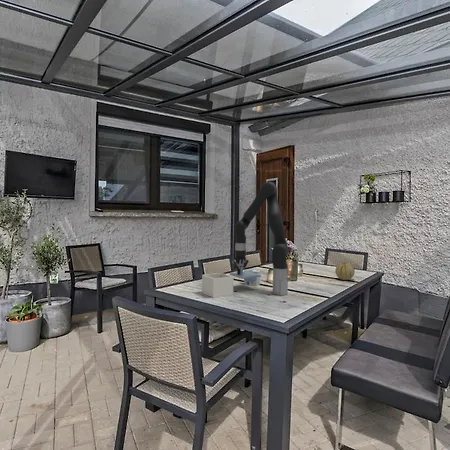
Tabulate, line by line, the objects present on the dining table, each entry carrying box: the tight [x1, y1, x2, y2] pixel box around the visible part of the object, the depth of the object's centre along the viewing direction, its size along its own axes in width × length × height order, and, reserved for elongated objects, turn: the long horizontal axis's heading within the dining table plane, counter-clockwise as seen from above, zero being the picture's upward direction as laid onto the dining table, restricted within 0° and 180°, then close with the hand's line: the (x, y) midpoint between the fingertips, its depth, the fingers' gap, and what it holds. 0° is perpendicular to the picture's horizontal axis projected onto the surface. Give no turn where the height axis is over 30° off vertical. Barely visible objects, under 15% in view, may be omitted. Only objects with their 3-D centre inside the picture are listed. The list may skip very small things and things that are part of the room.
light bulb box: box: [243, 268, 261, 287], centre depth 251 cm, size 11×7×11 cm, turn 62°
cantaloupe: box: [335, 261, 356, 281], centre depth 273 cm, size 15×15×15 cm
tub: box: [201, 272, 234, 299], centre depth 221 cm, size 15×15×12 cm
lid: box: [229, 267, 262, 280], centre depth 237 cm, size 16×16×7 cm
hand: (240, 274), depth 234 cm, fingers closed on lid, 1 cm apart
